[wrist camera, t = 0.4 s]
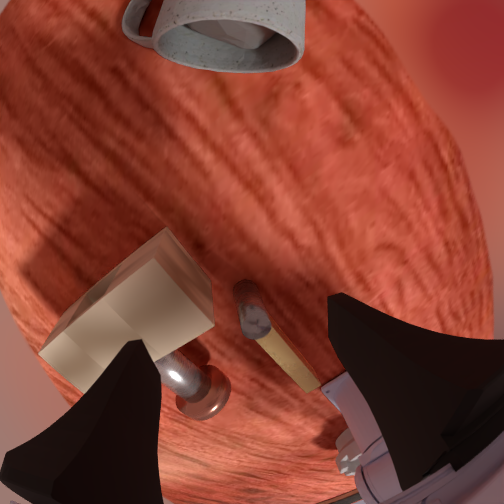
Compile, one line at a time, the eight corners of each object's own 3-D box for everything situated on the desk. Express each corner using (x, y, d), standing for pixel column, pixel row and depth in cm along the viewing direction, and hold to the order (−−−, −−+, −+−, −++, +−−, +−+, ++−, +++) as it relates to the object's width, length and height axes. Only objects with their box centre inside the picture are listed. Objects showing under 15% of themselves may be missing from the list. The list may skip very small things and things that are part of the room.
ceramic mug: (288, -11, 13) (327, -68, 5) (280, 80, 15) (327, 42, 8) (141, -18, 11) (117, -77, 4) (118, 74, 14) (67, 37, 6)
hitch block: (211, 280, 20) (214, 325, 15) (104, 352, 21) (89, 397, 16) (166, 226, 18) (153, 257, 13) (63, 312, 19) (38, 353, 14)
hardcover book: (303, 505, 51) (305, 511, 49) (378, 477, 52) (381, 482, 50) (308, 512, 57) (310, 517, 55) (373, 488, 59) (375, 492, 57)
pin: (227, 363, 22) (234, 407, 18) (185, 386, 23) (185, 428, 18) (159, 296, 19) (150, 338, 15) (116, 327, 19) (101, 369, 15)
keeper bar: (307, 351, 24) (325, 387, 20) (291, 361, 24) (306, 398, 20) (248, 275, 20) (261, 310, 16) (228, 288, 20) (235, 326, 16)
